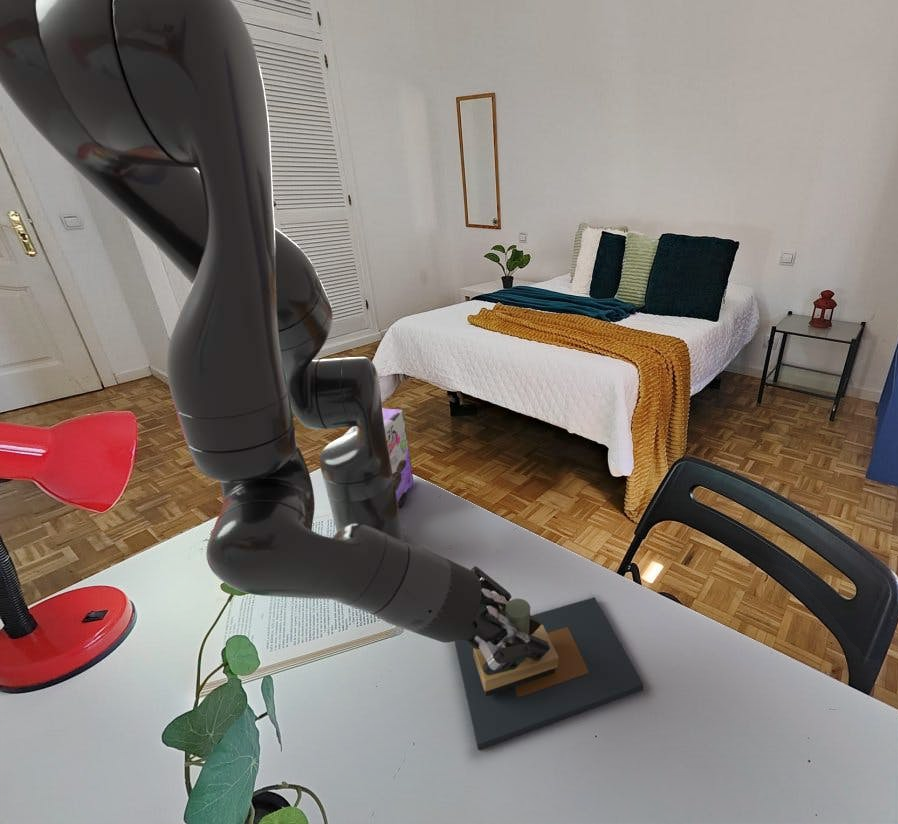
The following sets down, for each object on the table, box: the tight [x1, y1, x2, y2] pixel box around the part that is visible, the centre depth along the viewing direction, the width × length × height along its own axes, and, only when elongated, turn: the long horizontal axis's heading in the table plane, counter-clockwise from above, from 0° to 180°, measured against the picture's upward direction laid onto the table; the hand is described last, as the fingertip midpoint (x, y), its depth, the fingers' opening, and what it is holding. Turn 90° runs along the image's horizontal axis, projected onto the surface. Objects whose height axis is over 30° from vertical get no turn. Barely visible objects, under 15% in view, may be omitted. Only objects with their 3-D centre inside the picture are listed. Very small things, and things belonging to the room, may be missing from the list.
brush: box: [473, 598, 559, 697], centre depth 58 cm, size 5×9×10 cm, turn 113°
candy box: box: [340, 407, 415, 502], centre depth 87 cm, size 14×6×16 cm, turn 168°
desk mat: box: [454, 596, 645, 750], centre depth 61 cm, size 14×20×1 cm
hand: (539, 639), depth 59 cm, fingers closed on brush, 3 cm apart
